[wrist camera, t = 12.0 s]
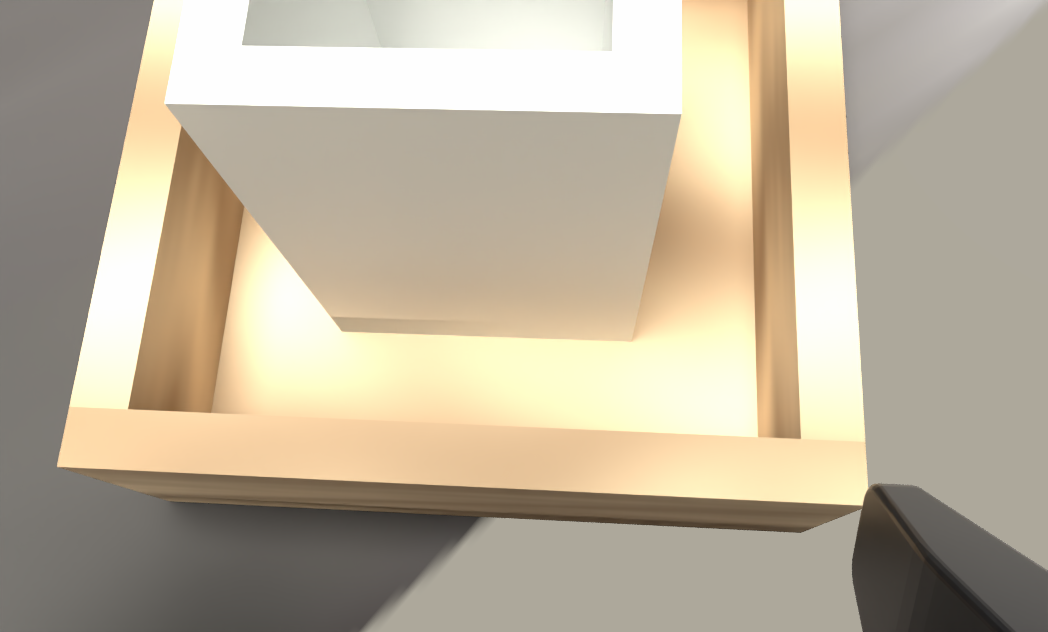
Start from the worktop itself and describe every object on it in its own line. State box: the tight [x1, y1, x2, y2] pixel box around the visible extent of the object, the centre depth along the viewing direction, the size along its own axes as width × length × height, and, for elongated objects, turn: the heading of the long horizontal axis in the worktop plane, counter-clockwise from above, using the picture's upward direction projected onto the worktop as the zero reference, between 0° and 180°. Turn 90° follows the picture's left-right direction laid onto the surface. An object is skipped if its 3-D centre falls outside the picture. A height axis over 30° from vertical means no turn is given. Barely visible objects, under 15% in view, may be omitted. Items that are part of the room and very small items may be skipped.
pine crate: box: [57, 0, 868, 533], centre depth 19 cm, size 13×13×4 cm
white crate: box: [164, 0, 682, 342], centre depth 16 cm, size 6×6×9 cm
